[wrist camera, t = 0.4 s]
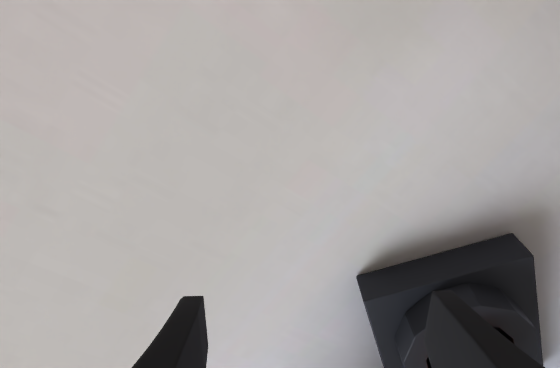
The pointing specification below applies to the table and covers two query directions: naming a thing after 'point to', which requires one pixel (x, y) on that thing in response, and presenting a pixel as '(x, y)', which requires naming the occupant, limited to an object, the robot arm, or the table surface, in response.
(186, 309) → the robot arm
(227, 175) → the table surface
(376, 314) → the push button base
